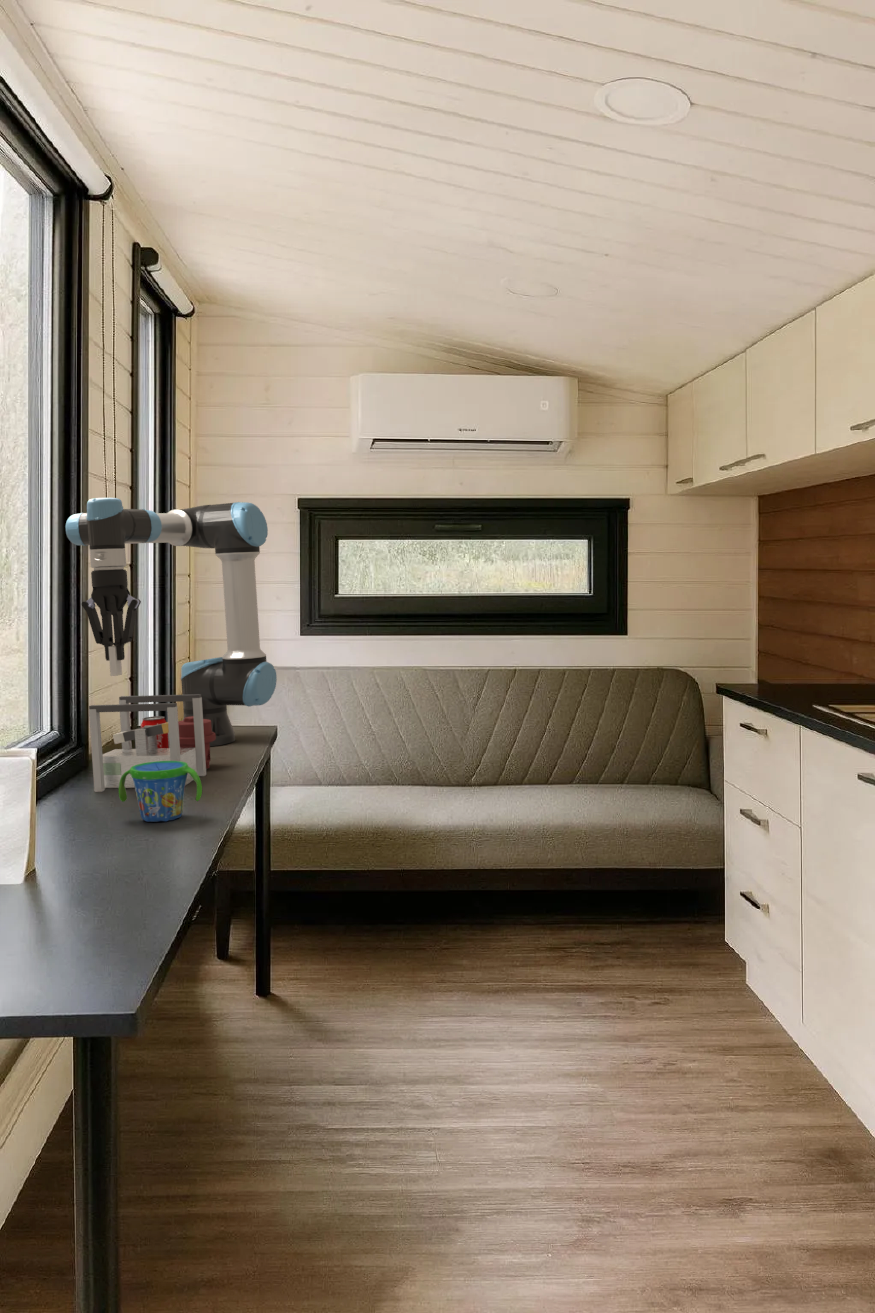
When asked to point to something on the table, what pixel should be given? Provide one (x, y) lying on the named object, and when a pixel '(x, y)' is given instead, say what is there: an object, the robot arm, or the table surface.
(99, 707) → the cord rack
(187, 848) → the table surface
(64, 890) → the table surface
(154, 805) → the snack cup
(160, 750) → the grey box
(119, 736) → the lever
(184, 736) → the mechanical component
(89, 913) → the table surface
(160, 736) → the soda can
